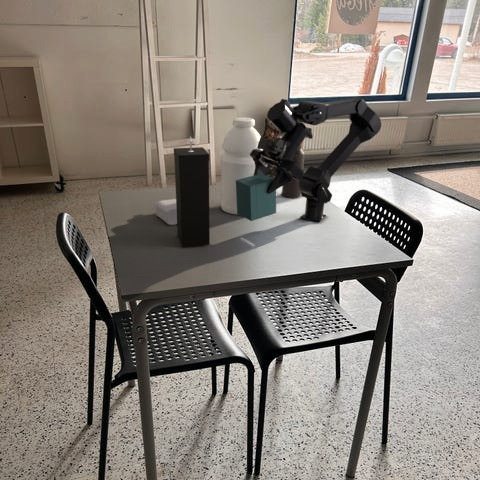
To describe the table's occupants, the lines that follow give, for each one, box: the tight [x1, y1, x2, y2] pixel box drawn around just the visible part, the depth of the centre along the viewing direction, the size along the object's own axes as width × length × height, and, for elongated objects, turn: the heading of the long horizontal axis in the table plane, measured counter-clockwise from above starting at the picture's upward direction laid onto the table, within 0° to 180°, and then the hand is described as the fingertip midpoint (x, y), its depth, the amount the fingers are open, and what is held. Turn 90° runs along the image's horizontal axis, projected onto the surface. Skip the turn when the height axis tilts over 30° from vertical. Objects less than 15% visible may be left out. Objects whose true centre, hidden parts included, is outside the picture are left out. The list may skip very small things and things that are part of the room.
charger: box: [155, 198, 177, 226], centre depth 156 cm, size 5×9×15 cm
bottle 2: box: [281, 141, 305, 199], centre depth 173 cm, size 7×7×20 cm
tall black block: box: [173, 136, 211, 248], centre depth 133 cm, size 8×8×28 cm
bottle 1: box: [219, 116, 263, 215], centre depth 158 cm, size 14×14×28 cm
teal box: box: [236, 174, 277, 222], centre depth 142 cm, size 9×7×10 cm
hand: (259, 189), depth 141 cm, fingers closed on teal box, 7 cm apart
